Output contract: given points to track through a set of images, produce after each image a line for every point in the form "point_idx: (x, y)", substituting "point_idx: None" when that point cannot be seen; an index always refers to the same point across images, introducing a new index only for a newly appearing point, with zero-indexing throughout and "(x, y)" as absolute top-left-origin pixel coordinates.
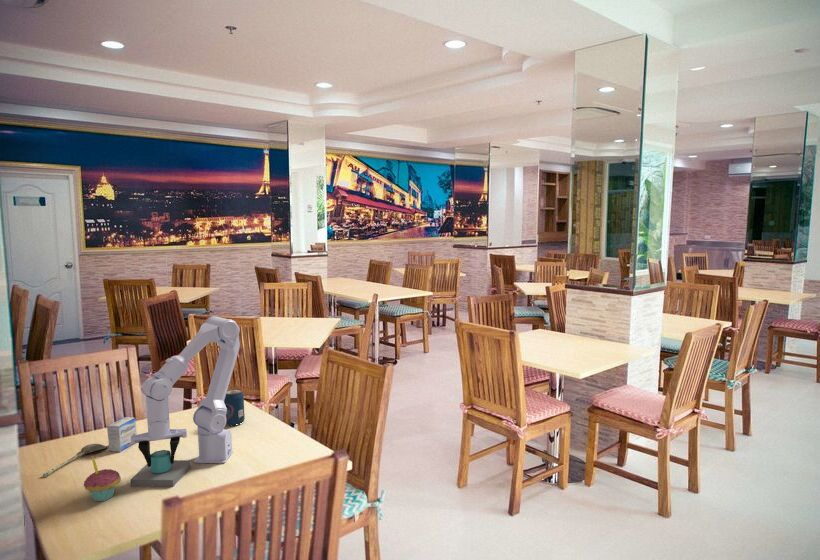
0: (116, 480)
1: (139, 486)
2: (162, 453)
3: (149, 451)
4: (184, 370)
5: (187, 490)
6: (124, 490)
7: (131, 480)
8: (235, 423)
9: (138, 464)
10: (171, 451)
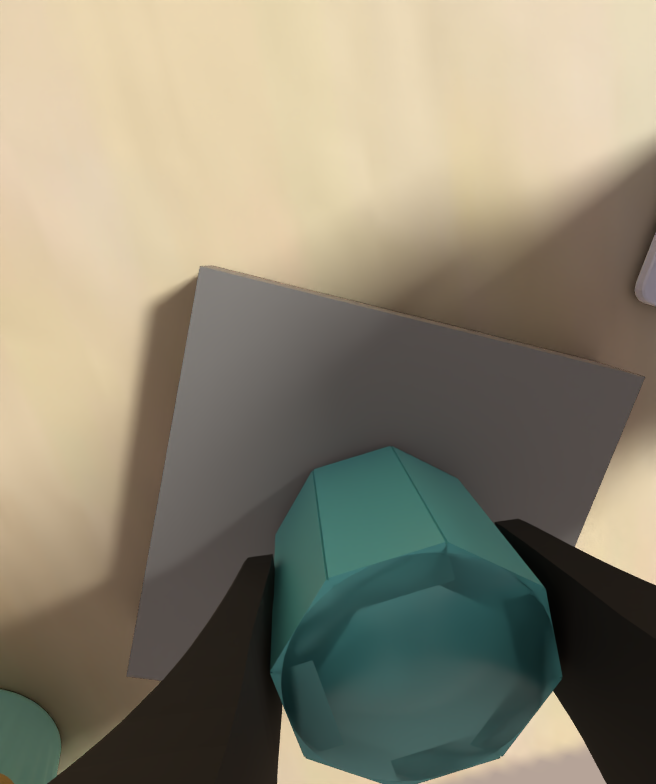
0: None
1: None
2: (447, 660)
3: (256, 715)
4: None
5: (573, 729)
6: (118, 673)
7: (140, 672)
8: None
9: (41, 164)
10: (612, 773)
